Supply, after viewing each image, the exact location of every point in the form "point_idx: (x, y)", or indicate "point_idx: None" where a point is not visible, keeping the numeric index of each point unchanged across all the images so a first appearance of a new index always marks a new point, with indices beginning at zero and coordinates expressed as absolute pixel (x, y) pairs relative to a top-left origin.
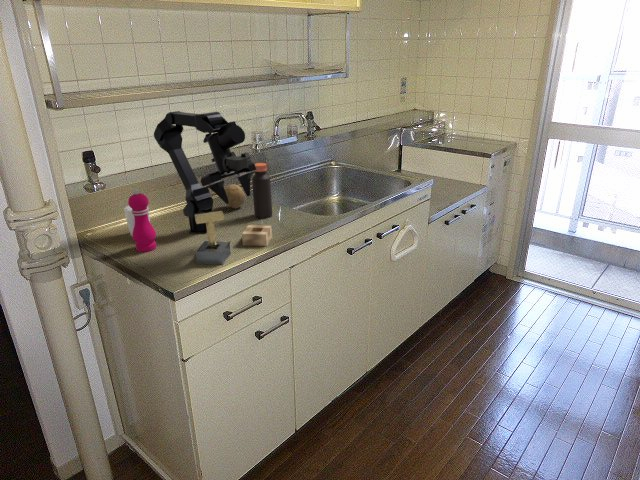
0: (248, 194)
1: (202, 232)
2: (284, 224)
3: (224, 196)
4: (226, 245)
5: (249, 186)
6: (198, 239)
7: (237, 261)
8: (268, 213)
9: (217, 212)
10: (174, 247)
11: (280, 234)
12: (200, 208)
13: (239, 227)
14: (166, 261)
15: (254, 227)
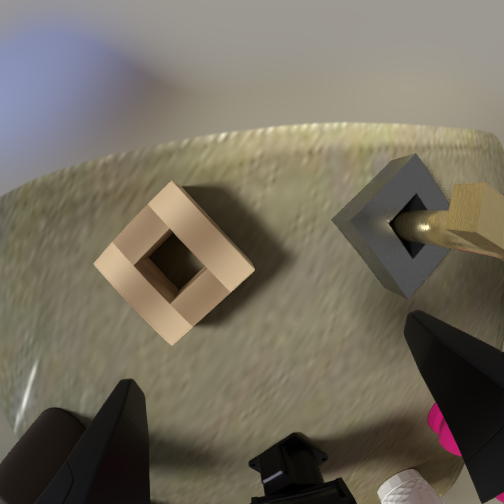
0: (133, 393)
1: (301, 439)
2: (33, 324)
3: (475, 338)
4: (376, 195)
5: (83, 448)
6: (337, 405)
7: (345, 143)
8: (50, 415)
9: (499, 220)
10: (413, 383)
11: (80, 253)
12: (329, 496)
13: (170, 415)
14: (469, 302)
15: (163, 301)
